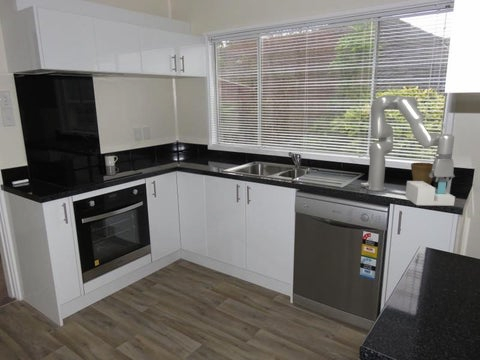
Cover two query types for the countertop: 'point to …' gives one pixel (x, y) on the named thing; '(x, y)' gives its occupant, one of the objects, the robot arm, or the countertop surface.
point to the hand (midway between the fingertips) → (440, 187)
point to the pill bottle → (448, 186)
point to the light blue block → (441, 185)
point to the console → (426, 194)
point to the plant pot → (422, 172)
